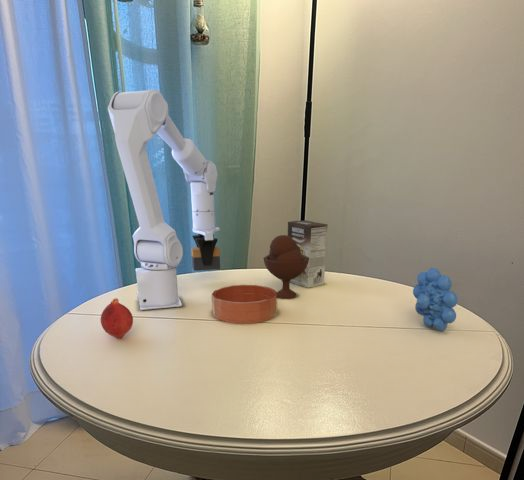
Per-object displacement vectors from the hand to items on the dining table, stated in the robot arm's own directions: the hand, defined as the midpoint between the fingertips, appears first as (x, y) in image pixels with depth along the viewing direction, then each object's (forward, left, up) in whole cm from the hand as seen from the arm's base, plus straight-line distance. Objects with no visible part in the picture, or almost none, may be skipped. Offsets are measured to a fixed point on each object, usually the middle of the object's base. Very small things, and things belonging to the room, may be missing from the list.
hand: (206, 263), depth 122 cm
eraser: (0, 0, -1) cm, 1 cm away
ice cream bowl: (+17, -17, -6) cm, 25 cm away
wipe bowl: (+4, -27, -6) cm, 28 cm away
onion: (-23, -35, -6) cm, 42 cm away
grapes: (+37, -47, -6) cm, 60 cm away
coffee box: (+26, -7, -6) cm, 28 cm away
